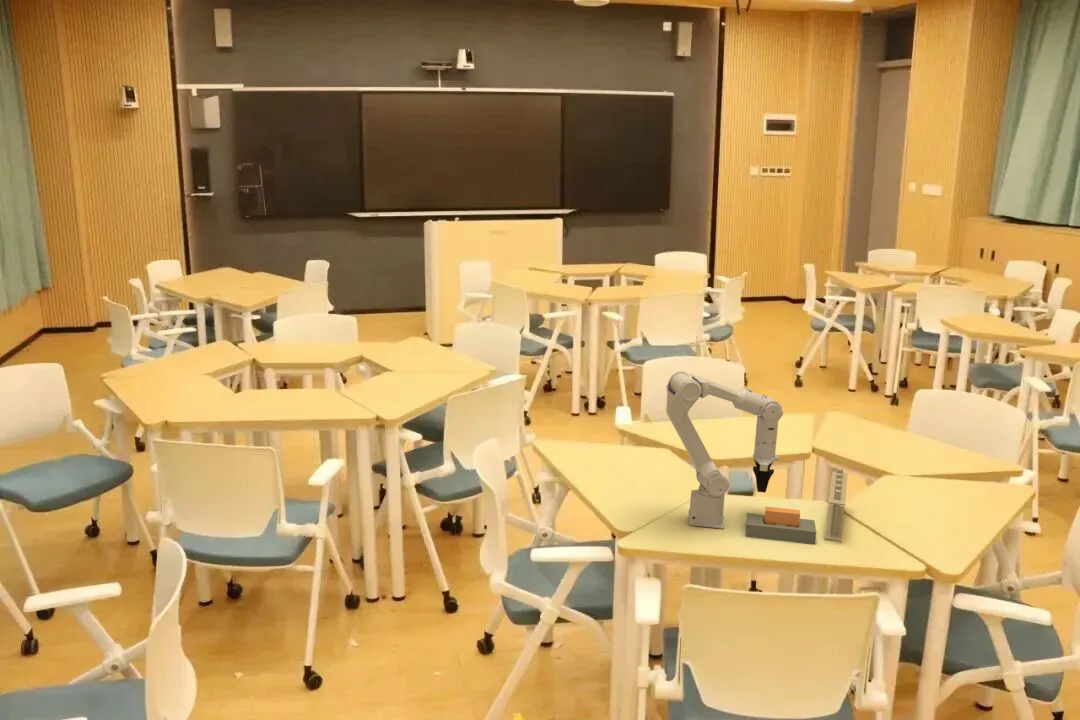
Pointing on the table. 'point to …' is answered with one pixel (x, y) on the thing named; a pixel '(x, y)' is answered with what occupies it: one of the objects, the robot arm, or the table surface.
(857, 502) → the table surface
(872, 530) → the table surface
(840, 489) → the test tube rack
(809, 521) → the socket rail
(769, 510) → the orange c-shaped bracket
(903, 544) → the table surface
